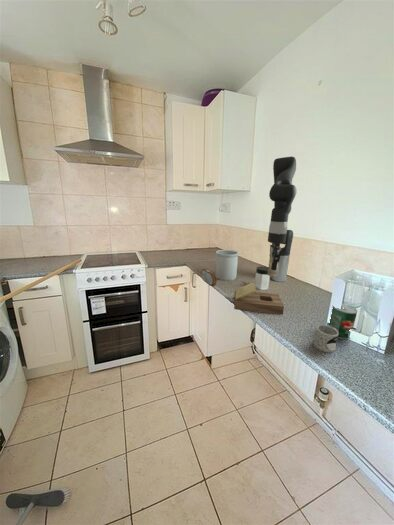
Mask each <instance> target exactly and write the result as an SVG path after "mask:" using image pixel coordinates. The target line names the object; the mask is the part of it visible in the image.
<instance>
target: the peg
mask: <svg viewBox="0 0 394 525" xmlns="http://www.w3.org/2000/svg"><path fill="white" fill-rule="evenodd" d="M271 253H272V251H270V250H269V255H270V256H269V262H268V275H269V276H270V277H272V276H277V269H276V270H271V266H272V257H271ZM273 255H274V254H273ZM275 259H277V258H275ZM277 268H278V263H277Z"/></svg>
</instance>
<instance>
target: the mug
mask: <svg viewBox="0 0 394 525" xmlns="http://www.w3.org/2000/svg"><path fill="white" fill-rule="evenodd" d="M338 334H339V333H338V331H337V330H336V328H332V327H330V326H329V325H325V324H319V325H317V326H316V328H315V334H314V338H313V346H314V347H315V348H316V349H318V351H321V352H324V353H329V354H330V353H334V352H335V351H336V346H337V342H338V339H339V338H338Z"/></svg>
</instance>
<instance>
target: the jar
mask: <svg viewBox="0 0 394 525" xmlns="http://www.w3.org/2000/svg"><path fill="white" fill-rule="evenodd" d="M268 267H269V266H268ZM268 267H267V266H262V265H261V266H257V267H256V271H255V279H254V280H255V281H254V285H255V289H256V290H257V289H258V290H261V291H263V290H267V291H268V290H269V287H270V278H271V276H269V275H268Z"/></svg>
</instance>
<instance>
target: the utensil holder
mask: <svg viewBox="0 0 394 525" xmlns="http://www.w3.org/2000/svg"><path fill="white" fill-rule="evenodd" d="M239 255H240V254H239V251H237V250H233V249H219V250H216V251H215V275H216V279H217V280H220V281H227V282H228V281H234V280H236V279H237V274H238V261H239V258H238V257H239Z"/></svg>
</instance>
